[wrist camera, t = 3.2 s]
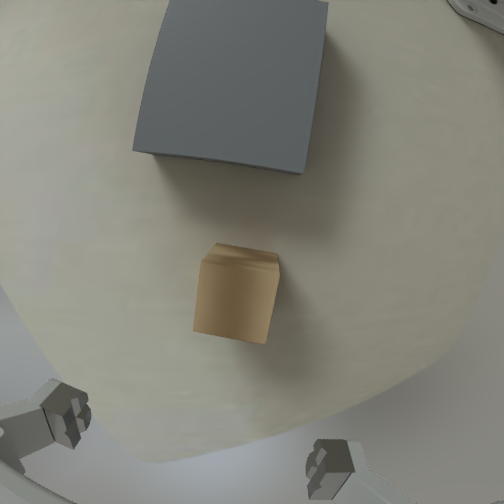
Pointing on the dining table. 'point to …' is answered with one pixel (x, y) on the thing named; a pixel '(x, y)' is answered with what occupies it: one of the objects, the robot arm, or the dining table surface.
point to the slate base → (234, 82)
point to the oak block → (236, 293)
